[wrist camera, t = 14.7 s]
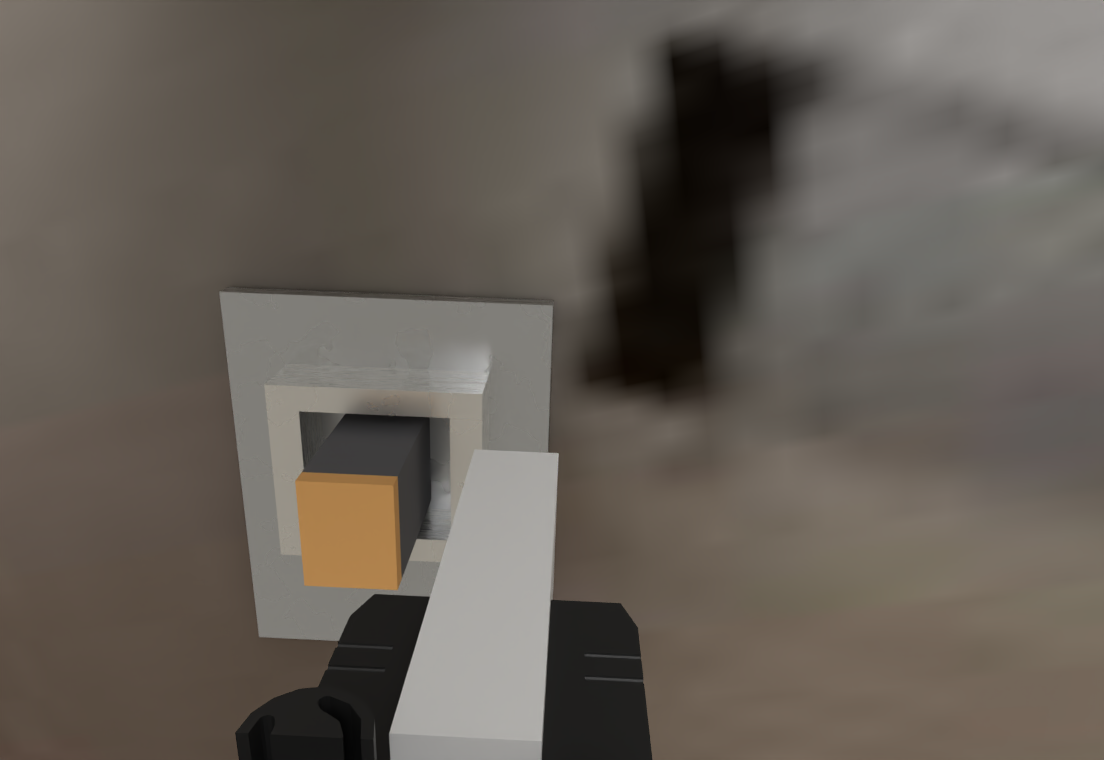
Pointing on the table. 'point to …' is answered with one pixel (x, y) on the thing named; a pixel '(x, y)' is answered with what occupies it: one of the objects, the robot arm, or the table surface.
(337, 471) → the plug
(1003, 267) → the table surface
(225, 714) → the table surface
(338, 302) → the socket plate
